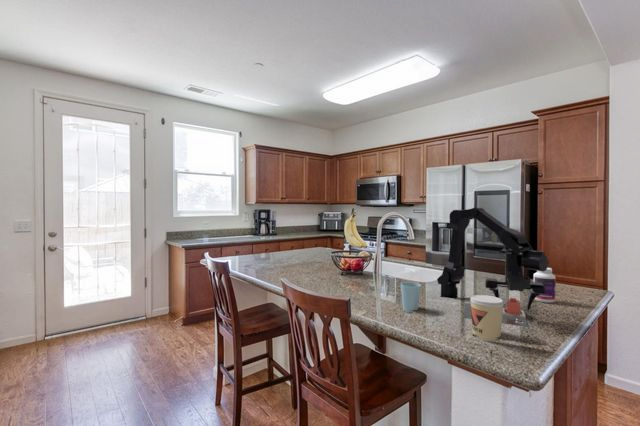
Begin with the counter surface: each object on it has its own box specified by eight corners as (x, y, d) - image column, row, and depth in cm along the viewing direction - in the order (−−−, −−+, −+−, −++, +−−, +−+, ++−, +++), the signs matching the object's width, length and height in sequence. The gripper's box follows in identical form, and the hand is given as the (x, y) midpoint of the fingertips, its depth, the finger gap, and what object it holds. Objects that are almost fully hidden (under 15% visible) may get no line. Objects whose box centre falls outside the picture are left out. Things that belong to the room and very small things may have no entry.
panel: (463, 320, 116) (463, 314, 116) (464, 305, 134) (464, 300, 134) (529, 330, 108) (529, 324, 108) (521, 313, 126) (521, 307, 126)
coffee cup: (464, 331, 107) (464, 294, 106) (491, 330, 107) (491, 294, 107) (480, 343, 97) (481, 303, 97) (510, 342, 98) (510, 302, 98)
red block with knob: (507, 315, 119) (507, 299, 119) (506, 312, 123) (506, 296, 123) (520, 316, 118) (520, 300, 117) (518, 313, 121) (518, 298, 121)
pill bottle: (559, 304, 138) (559, 270, 137) (537, 302, 139) (538, 269, 139) (549, 298, 146) (550, 266, 145) (529, 297, 147) (530, 266, 147)
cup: (413, 307, 132) (413, 281, 132) (424, 313, 125) (425, 286, 124) (396, 308, 130) (397, 282, 130) (407, 314, 122) (407, 287, 122)
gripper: (486, 268, 117) (485, 311, 117) (549, 273, 109) (548, 319, 109) (485, 263, 127) (484, 303, 127) (542, 267, 119) (541, 309, 119)
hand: (513, 308), depth 120 cm, fingers open, 9 cm apart
